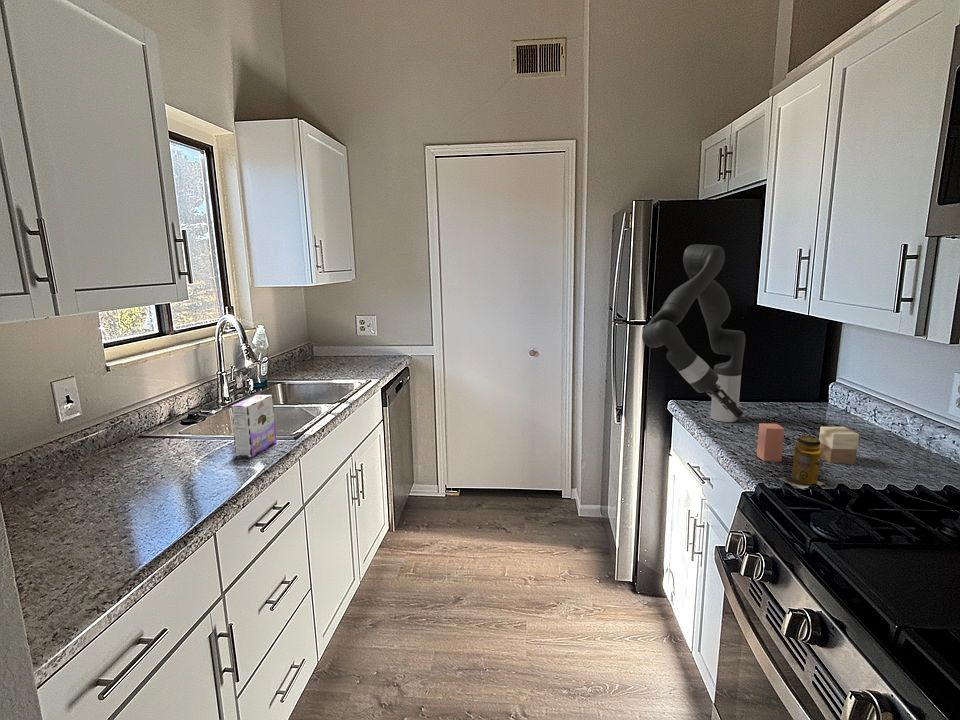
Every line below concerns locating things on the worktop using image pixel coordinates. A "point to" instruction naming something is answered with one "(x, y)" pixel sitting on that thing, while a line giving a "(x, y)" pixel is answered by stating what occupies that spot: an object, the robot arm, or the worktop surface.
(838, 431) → the tower top
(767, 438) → the tall block
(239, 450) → the candy box
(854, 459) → the tower base
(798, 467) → the condiment
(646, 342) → the robot arm
